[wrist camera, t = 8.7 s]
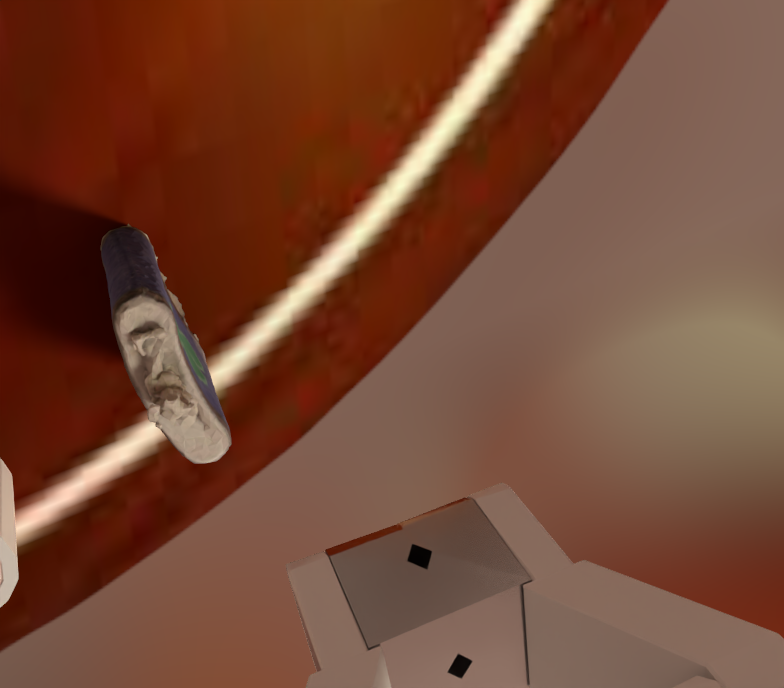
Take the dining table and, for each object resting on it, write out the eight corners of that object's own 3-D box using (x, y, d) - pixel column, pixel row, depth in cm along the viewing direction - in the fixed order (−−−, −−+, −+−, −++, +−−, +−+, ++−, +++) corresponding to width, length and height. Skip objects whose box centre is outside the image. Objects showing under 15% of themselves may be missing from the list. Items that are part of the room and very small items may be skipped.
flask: (211, 364, 42) (247, 476, 33) (161, 385, 41) (184, 505, 32) (141, 215, 37) (161, 299, 28) (83, 237, 36) (85, 330, 27)
